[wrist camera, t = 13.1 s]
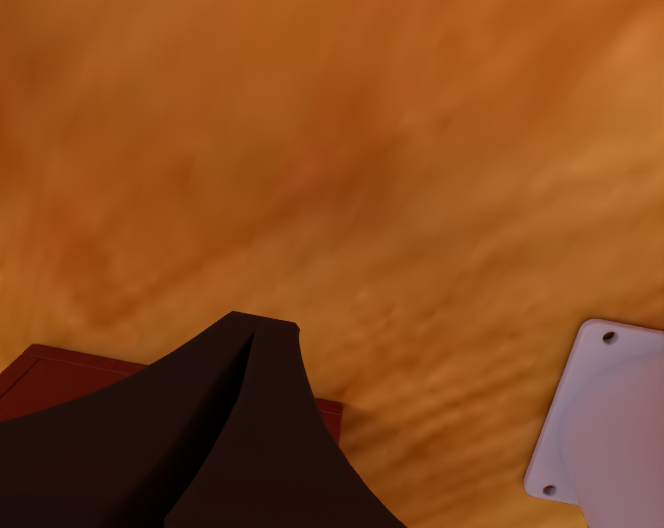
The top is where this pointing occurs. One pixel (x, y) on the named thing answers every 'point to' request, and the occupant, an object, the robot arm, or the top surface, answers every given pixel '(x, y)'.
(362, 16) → the top surface
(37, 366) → the reddish-brown open box
